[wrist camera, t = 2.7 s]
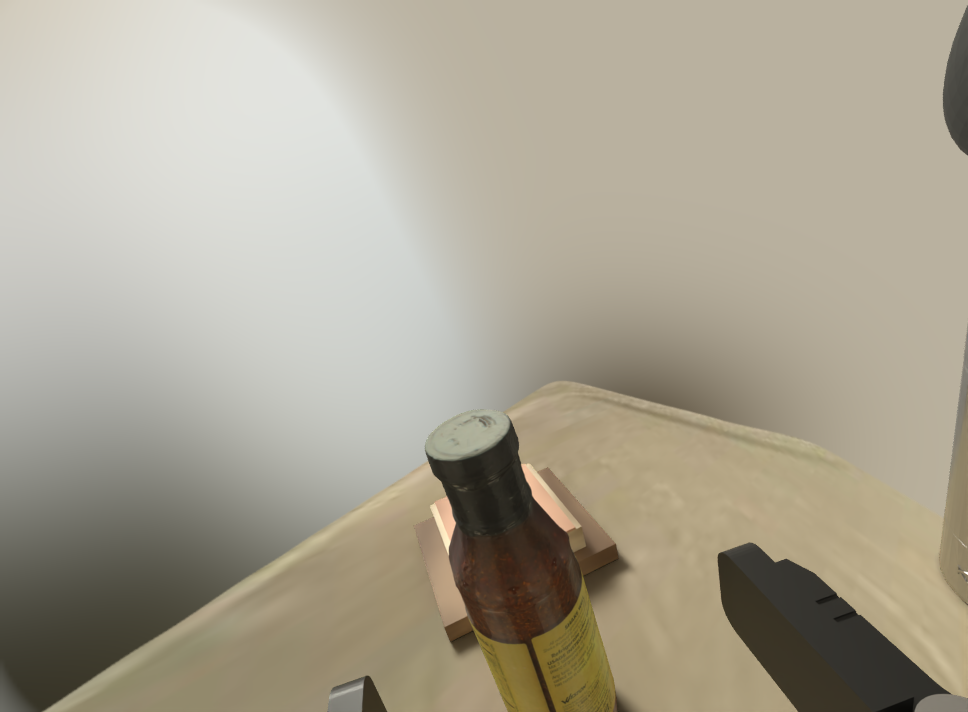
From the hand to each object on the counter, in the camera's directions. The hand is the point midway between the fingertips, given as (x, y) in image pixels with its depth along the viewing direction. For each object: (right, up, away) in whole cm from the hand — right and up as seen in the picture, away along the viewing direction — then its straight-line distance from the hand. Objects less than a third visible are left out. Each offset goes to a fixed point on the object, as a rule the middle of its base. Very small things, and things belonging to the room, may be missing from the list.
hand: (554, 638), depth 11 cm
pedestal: (+1, -10, +31) cm, 33 cm away
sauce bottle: (+3, -15, +18) cm, 24 cm away
